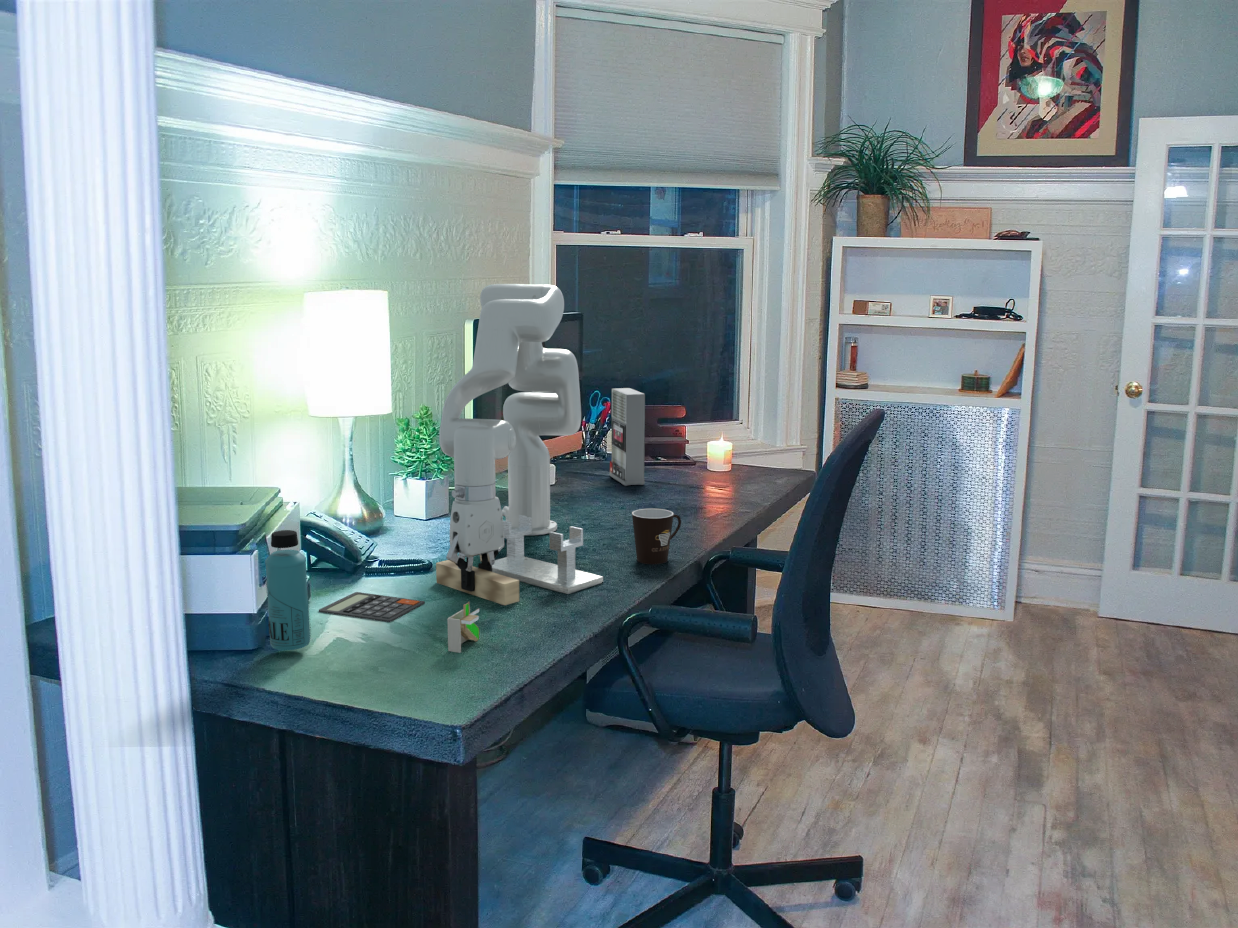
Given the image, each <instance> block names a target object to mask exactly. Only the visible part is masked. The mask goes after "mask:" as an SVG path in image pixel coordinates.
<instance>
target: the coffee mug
mask: <svg viewBox="0 0 1238 928" xmlns="http://www.w3.org/2000/svg"><path fill="white" fill-rule="evenodd" d="M631 517H632V526H633V536H634V546H635V555H636V560H637V562H638V563H641V564H645V565H662V564H665V563H667V562H668V559H669V552H670V545H671V544H670V543H671V540H672V539H673V538H674V537H675V536H676V535H677V534H678V532H679V530H680V528H681V525H682V518H681V516H679V515H678V514H675V513H674V512H673V511H671V510H667V509H665V508H642V509H641V508H640V509H636V510H633V511H631ZM675 518H676V520H677V522H678V523H677V526H676V528H675V530H674V532H673V531H672V528H673V521H674V519H675Z"/></svg>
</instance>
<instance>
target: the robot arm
mask: <svg viewBox="0 0 1238 928" xmlns="http://www.w3.org/2000/svg"><path fill="white" fill-rule="evenodd" d="M479 297H480V298H479V300H480V306H481V309H480V313H479V319H478V326H477V327H478V328H477V333H476V340H475V347H474V354H473V362H472V366H471V369H470V370H469V371H468V372H467V373H465V374H464V375H463V376H462V377H461V378H460V379H459V380H458V381H457V382H456V383H455V385H454V386H453V387H452V388H451V390H450V391H449V393H448V394H447V396H446V399H445V400H444V404H443V407H442V412H441V414H442V415H441V420H440V424H439V425H440V426H439V446H440V450H441V451H442V452H443V454H445V456H448V457H451V458H453V467H454V470H453V471H454V472H453V473H454V490H452V491H451V497H452V498H454V500H453V501H452V505H451V513H450V518H449V520H450V523H449V549H448V551H447V554H446V560H450V561H452V562H454V563H455V564H456V565H457V566H458V569H461V588H462V589H464V590H467V591H471V592H473V591H475V572H474V571H473V570H472V566H473V563H474V557H476V556H479V559H480V562H479V563H478V565H477V568H480V569H484V570H487V571H490V572H492V565H494V563H495V560H496V558H497V556H499V553H500V552H501V551H502V549H503V548H505V538H504V528H503V521H504V519H503V518H504V517H505V521H508V522H511V529H515V528H519V515H523V516H528V517H531V525H532V533H531V534H527V535H525V536H541V535H546V534H548V535H549V532H556V531H557V529H558V524H557V522H556V521H554V520H551V456H550V451H549V449H548V447H547V445H546V444H545V442H544V441H543V440H542V439H541V437H540V436H563V437H564V436H565V437H566V436H572V435H575V434H576V433H578V432H579V430H580V428H581V424H582V423H581V422H582V403H581V391H580V378H579V377H580V376H579V373H580V372H579V367H578V360H577V358H576V356H575V354H574V353H573V352H572V351H570V350H569V349H564V348H546V347H543V343H544V342H547V341H548V340H550V339H551V337H552V336H553V334H554V333H555V331H556V329H557V328H558V327H559V325H560V322H561V321H562V318H563V315H564V311H565V299H564V298H565V297H564V295H563V293H562V291H561V289H560V288H559V287H557V286H556V285H553V284H538V283H537V284H535V283H534V284H526V283H495V284H494V283H493V284H492V283H491V284H489V285H486V286H484V287H483V289H481V292H480V296H479ZM504 385H505V386H506V385H509V387H510V388H512V390H515V391H520V392H515V393H512V394H511V395H509V396H507V398H506V399H505V401H504V404H503V407H502V414H503V415H502V417H503V420H502V419H494V418H493V419H489V418H488V419H487V418H465V417H463V418H462V417H461V415H462V412H463V411H464V409H465V407H466V406H467V405H468V404H469V403H470V402H471V401H473V400H474V399H476V398H478V397H480V396H481V395H484V394H486V393H489V392H491V391H492V390H495V389H497V388H500V387H502V386H504ZM505 458H507V471H508V472H507V477H508V478H507V482H508V483H507V484H508V485H507V486H508V488H507V489H508V491H507V492H508V495H507V496H508V499H507V500H508V506H507V505H504V506H503V508H502V507H501V503H500V499H499V498H500V497H498V496H497V495H496V492H497V491H496V460H501V459H505Z"/></svg>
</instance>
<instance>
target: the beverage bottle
mask: <svg viewBox="0 0 1238 928" xmlns="http://www.w3.org/2000/svg"><path fill="white" fill-rule="evenodd" d="M270 537H271V540H270V547H272V548H276V549H281V550H276V551H273V552H272V553H270V554H269V556H268V557H266V559H265V561H264V563H265V571H266V572H265V573H266V574H265V575H266V582H265V586H266V587H265V588H266V589H265V590H266V595H267V596H266V597H267V614H268V617H267V622H268V623H267V627H268V635H269V638H268V639H269V644H270V646H271V648H273V649H275V650H279V651H293V650H299V649H303V648H306V647H307V646H308V645H309V644H310V641H311V637H312V636H311V635H312V633H311V632H312V628H311V624H310V623H311V620H310V617H311V615H310V612H311V610H310V607H309V597H308V582H307V581H308V579H307V576H308V575H307V558H306V556H305V555H304V554H303V553H302V552H300V551H299V550H296V549H289V548H294V547H296V546H298V545H299V538H298V533H297V531H295V530H290V529H283V530H276V531H274V532H272V533H271V536H270Z"/></svg>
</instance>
